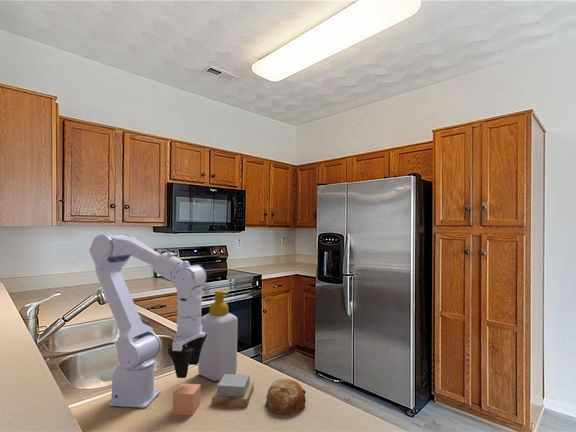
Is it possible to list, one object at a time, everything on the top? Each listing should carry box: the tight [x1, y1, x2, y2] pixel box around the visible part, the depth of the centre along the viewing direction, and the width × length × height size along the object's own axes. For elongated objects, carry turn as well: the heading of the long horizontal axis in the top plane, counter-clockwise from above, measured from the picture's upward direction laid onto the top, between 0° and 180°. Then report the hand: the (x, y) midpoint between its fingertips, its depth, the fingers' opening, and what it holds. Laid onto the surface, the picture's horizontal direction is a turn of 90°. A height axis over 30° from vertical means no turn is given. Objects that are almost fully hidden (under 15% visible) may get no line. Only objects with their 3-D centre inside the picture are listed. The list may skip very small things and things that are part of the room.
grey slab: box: [216, 373, 251, 397], centre depth 87 cm, size 7×7×2 cm
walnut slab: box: [211, 382, 255, 408], centre depth 87 cm, size 9×9×2 cm
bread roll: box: [265, 378, 307, 415], centre depth 83 cm, size 10×10×8 cm
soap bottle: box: [197, 289, 239, 382], centre depth 101 cm, size 9×9×25 cm
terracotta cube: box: [172, 383, 202, 416], centre depth 80 cm, size 5×5×5 cm
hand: (187, 370), depth 81 cm, fingers open, 7 cm apart
